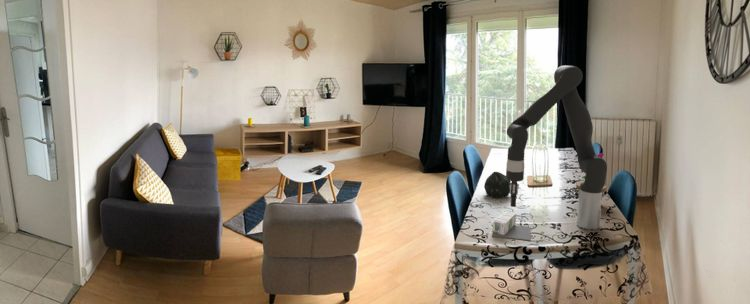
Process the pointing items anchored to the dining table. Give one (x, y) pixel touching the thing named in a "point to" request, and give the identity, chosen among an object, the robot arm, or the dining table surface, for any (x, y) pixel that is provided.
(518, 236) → the mat
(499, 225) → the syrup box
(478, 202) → the dining table surface
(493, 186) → the squash
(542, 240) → the dining table surface
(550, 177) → the dining table surface
